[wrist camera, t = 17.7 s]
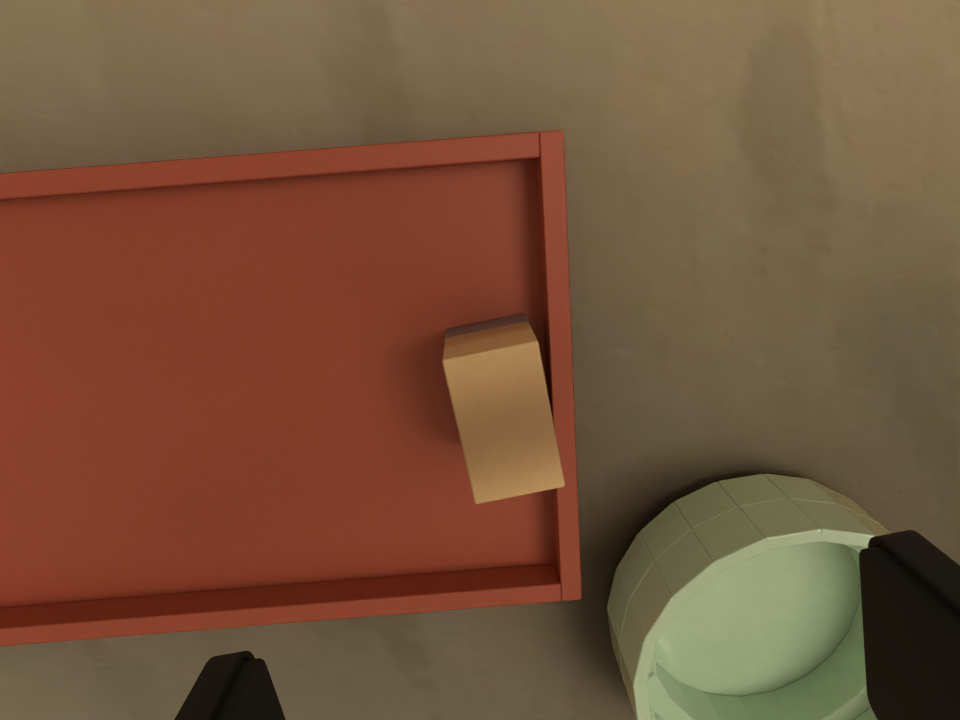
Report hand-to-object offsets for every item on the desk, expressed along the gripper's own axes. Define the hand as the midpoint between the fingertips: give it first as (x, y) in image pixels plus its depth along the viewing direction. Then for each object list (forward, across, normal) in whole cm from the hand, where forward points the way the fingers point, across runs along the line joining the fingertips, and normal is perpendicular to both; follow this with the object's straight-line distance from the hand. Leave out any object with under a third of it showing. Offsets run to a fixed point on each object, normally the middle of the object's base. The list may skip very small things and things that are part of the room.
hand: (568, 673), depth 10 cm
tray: (+16, +15, -2) cm, 21 cm away
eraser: (+15, +1, 0) cm, 15 cm away
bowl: (+16, -8, +12) cm, 21 cm away
